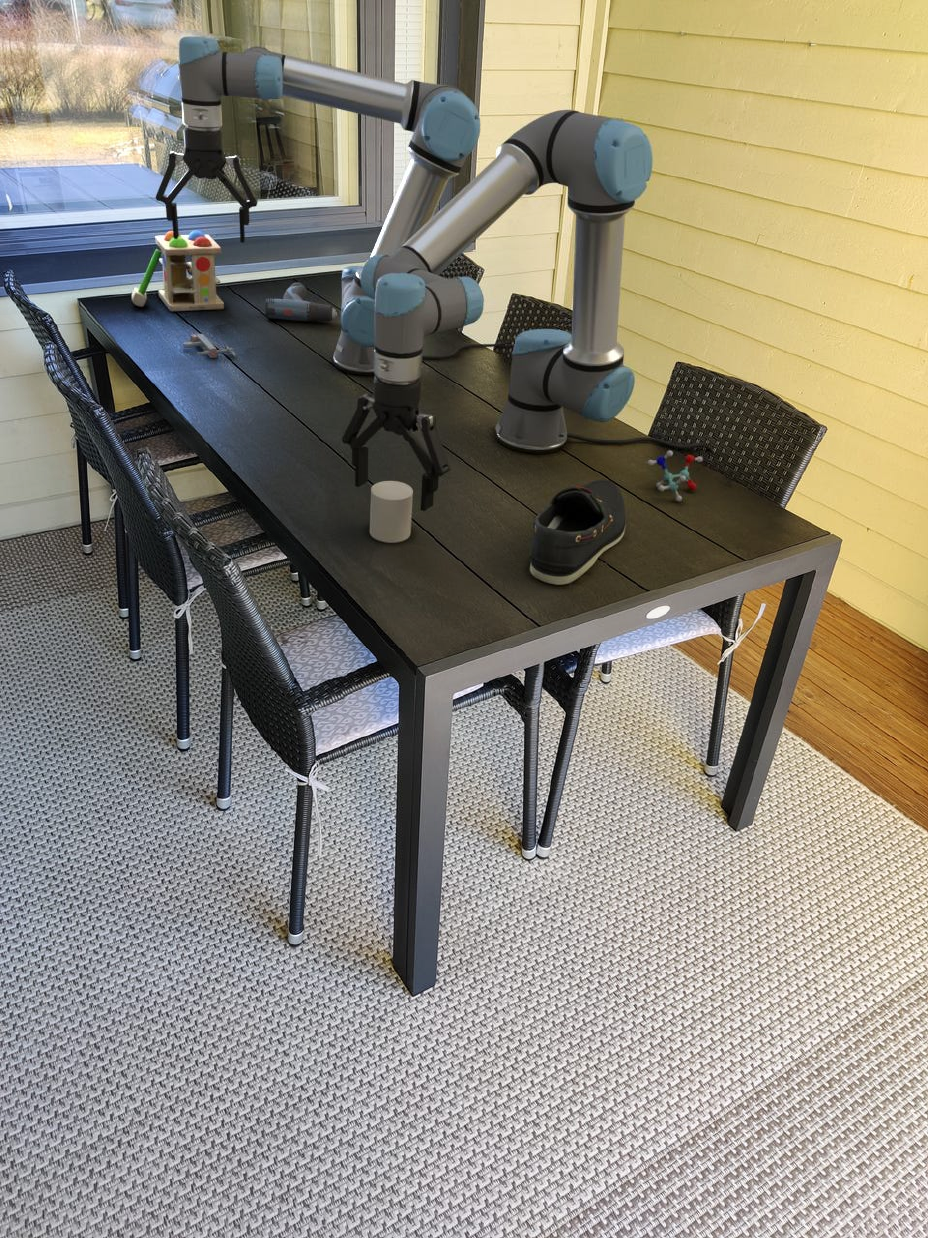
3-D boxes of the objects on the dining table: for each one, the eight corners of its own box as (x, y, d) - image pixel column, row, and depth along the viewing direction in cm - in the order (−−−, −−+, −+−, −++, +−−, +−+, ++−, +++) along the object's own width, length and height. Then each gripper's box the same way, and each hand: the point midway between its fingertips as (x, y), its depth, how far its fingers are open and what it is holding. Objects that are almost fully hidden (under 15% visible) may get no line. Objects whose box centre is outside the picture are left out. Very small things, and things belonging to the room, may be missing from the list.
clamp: (178, 335, 238) (218, 331, 242) (178, 343, 239) (218, 340, 243) (197, 356, 227) (238, 351, 232) (197, 365, 228) (239, 360, 233)
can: (396, 546, 167) (398, 503, 163) (361, 534, 170) (362, 491, 165) (418, 530, 173) (420, 488, 168) (384, 518, 175) (385, 476, 171)
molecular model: (706, 495, 186) (690, 444, 184) (657, 509, 189) (642, 459, 188) (711, 487, 196) (697, 439, 195) (665, 501, 200) (651, 454, 198)
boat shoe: (648, 521, 183) (657, 470, 178) (567, 591, 159) (574, 534, 154) (587, 503, 189) (593, 452, 184) (499, 567, 165) (504, 512, 160)
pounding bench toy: (137, 313, 255) (129, 242, 244) (126, 297, 265) (119, 228, 255) (225, 308, 264) (221, 239, 254) (211, 293, 274) (207, 225, 264)
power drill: (344, 304, 276) (335, 327, 259) (277, 298, 275) (264, 321, 258) (344, 285, 273) (335, 306, 256) (277, 279, 272) (264, 300, 255)
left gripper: (134, 125, 189) (145, 239, 201) (266, 134, 193) (269, 246, 205) (140, 119, 195) (150, 231, 207) (267, 128, 199) (270, 237, 211)
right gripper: (320, 363, 158) (322, 482, 170) (451, 404, 148) (443, 526, 160) (348, 351, 163) (348, 466, 175) (476, 389, 153) (467, 509, 165)
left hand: (209, 239), depth 206 cm, fingers open, 13 cm apart
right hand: (393, 495), depth 168 cm, fingers open, 13 cm apart
